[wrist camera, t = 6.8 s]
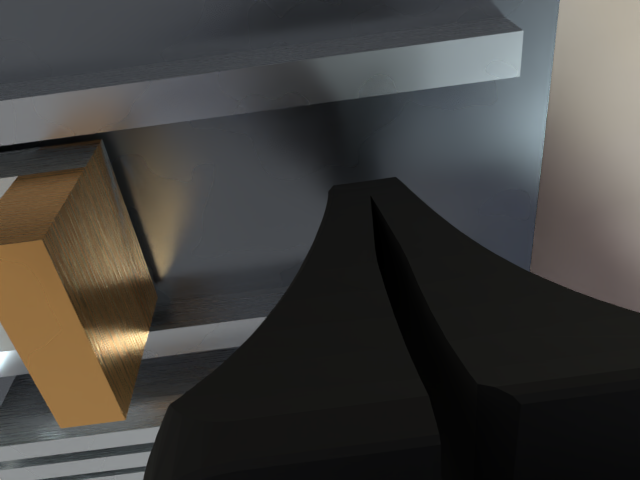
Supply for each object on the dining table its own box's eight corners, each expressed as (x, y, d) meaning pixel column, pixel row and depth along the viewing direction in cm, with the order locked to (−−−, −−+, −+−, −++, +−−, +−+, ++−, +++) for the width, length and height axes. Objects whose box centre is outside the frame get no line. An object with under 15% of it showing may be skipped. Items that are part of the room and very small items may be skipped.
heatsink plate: (549, -175, 10) (685, -185, 7) (505, 330, 17) (563, 452, 14) (-348, -50, 10) (-653, 0, 7) (-39, 400, 17) (-117, 537, 14)
